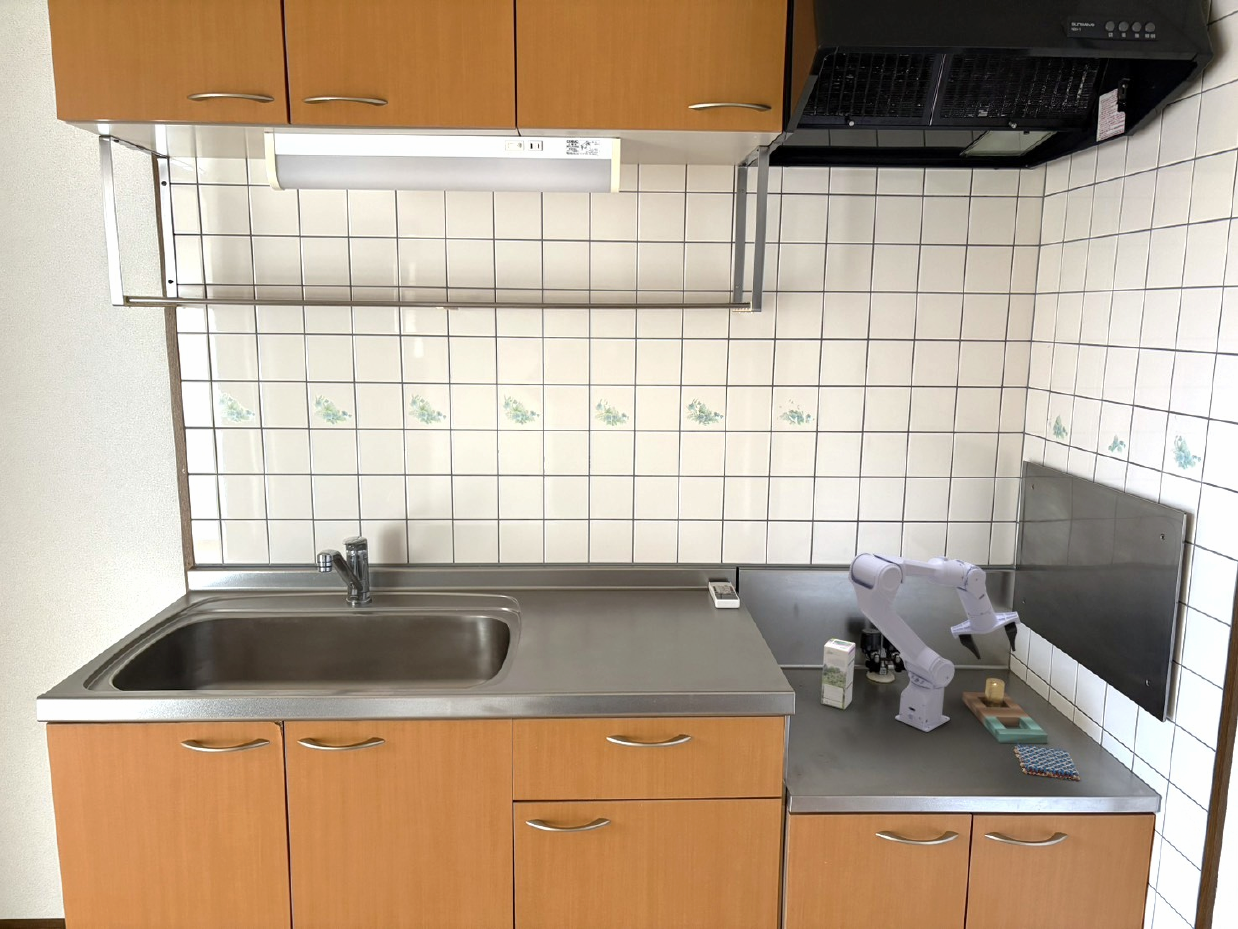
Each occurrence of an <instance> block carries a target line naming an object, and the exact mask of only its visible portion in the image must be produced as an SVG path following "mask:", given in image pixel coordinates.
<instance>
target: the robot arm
mask: <svg viewBox="0 0 1238 929" xmlns="http://www.w3.org/2000/svg"><path fill="white" fill-rule="evenodd" d="M906 577H912V578H913V577H915V578H925V580H926V581H927V582H928V583H929V584H931V585H936V586H944V587H949V588H950V587H951V588H955V589H956V593H957V595H958V597H959V599H960V602H961V604H962V607H963V610H964V612H965V614H966V617H967V620H965V621H963V622H961V623H959V624H957V625H955V626H951V627H950V630H951V631H950V632H951V635H952V636H953V638H954V640H956V639H959V641H960V644H961V645H962V646H963V647H966V648H967V649H968V650H969V651H970V652H972V653H973V654H974V656H975V657H976V659H977V660H981V659H982V658H981V655H980V654H981V653H980V651H979V649H978V646H977V645H976V642H975V640H974V637H973V635H985V634H989V633H992V632H994V631H996V630H998V629H1000V628H1002V627H1004V631H1005V634H1006V637H1007V639H1008V641H1009V645H1010V648H1011V651H1012V652H1016V651H1017V650H1016V637H1017V634H1018V627H1017V625H1020V624H1021V623H1022V622H1021V620H1020V617H1019V614H1018V612H1017V611H1011V612H995V609H994V608H993V606H992V603H991V600H990V598H989V595H988V592H987V587H986V586H987V585H986V580H987V572H986V571H984V570H983V569H982V568H981V566H978V565H974V564H972V563H969V562H966V561H964V560H963V559H958V558H955V559H953V560H951V559H949V557H946V556H944V555H939V557H933V558H930V559H928V561H927V562H926V561H921V560H917V559H912V558H907V557H901V556H897V555H893V554H892V555H890V554H886V553H885V554H884V553H876V552H875V553H872V555H871V553H867V552H860V553H858V554H857V555H856V556H854V557H853V558H852V560H851V563H850V566H849V572H848V580H849V582H850V583H851V584H852V586H853V588H854V592H855V595H856V600H857V603H858V607H859V610H860V611H861V612H862V614H863V615H864V616H865V617H866V618H867V619H868V621H870V623H872V625H874V626H875V627H876V629H878V631H879V632H880V633H881V634H882V635H883V636H884V637H885V638H886V639H887V640H888V641H889V642H890V643H891V644H892V645H893V647H894V648H896V650H898V652H899V657H900V659H902V661H903V665H904V668H905V670H906V671H907V673H908V677H909V683H908V685H907V687H905V688H903V690H902V692H901V693H900V700H899V714H898V715H896V716H895V720H897V721H899V722H902V723H905V724H906V725H909V726H912V727H913V728H916V729H918V730H920V731H923V732H925V733H927V732H928V733H929V732H930V731H932V730H934V729H935V728H939V726H942V725H944V723H946V722H948V721H950V720H951V719H950V717H949V716H946V715H943V707H944V696H945V687H948V685H949V684H950V683H951V682H952V680H953V678H954V676H955V666H954V663H953V662H952V661H951V660H950V659H946V658H944V657H942V656H941V655H940V654H938V653H937V652H935V651H934V650H933V649H932V648H930V647H929V646H927V645H926V644H925V642H923V640H922V639H921V638H920V637H919V636H918V635H917V634H916V633H915V631H914V630H912V629H911V627H910V626H909V625H908V624H907V623H906V622H905V621H904V620H903V619H902V618H901V616H899V614H898V613H897V612H896V611H895V610H894V609H893V608H892V605H893V602H894V601H895V598H896V595H897V593H898V591H899V588H900V586H901V585H902V584H905V581H906Z"/></svg>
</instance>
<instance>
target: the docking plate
mask: <svg viewBox="0 0 1238 929" xmlns="http://www.w3.org/2000/svg"><path fill="white" fill-rule="evenodd" d="M961 700H962V701H963V703H964V704H965V705H966V707H968V708H969V710H970V711H971V712H972V713H973V714H974V716H975V717H976V718H977V719H978V720H979V721H980V722H981V724H982V725H983V726H984V727H985V728H986V730H988V732H989V734H991V735H992V736H993V737H994V739H995V740H996V741H997V742H998V743H999V744H1000V743H1001V744H1003V743H1005V744H1017V743H1018V744H1044V743H1048V733H1047V732H1046V731H1045V730H1044V729H1042V728H1041V727H1040V726H1039V724H1038V723H1037V722H1035V720H1034V719H1032V718H1031V716H1029V714H1028V713H1027V712H1026V711H1024V710H1023V709H1022V708H1021V706H1020V705H1019V704H1018V703H1017V702H1016V701H1015V700H1014V699H1012V697H1010V695H1008V693H1007V692H1004V695H1003V705H1002V708H995V707H986V706H985V705H984V701H985V691H984V692H983V691H982V692H975V691H972V692H971V691H963V692H962V698H961ZM1005 726H1006V727H1008V726H1009V727H1010V726H1011V727H1012V726H1013V727H1020V728H1006V727H1005Z"/></svg>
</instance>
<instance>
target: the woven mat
mask: <svg viewBox="0 0 1238 929" xmlns="http://www.w3.org/2000/svg"><path fill="white" fill-rule="evenodd" d="M1014 748H1015V749H1013V751H1014V752H1015V757H1016V758H1017V759H1018V758H1019V759H1018V760H1019V762H1020V764H1019V765H1020V766H1021V768H1022V769H1023V770H1022V769H1021V770H1022V772H1023V773H1024V774H1027V773H1029V775H1034V774H1036V776H1041V777H1042V776H1043V777H1048V778H1056V777H1062V778H1061V779H1064V777H1067V778H1071V779H1075V780H1074V781H1076V780H1077V781H1080V780H1081V778H1080V777H1079V774H1080V773H1079V770H1077V769H1076V768H1077V766H1076V765H1075V763H1074V761H1073V759H1072V758H1071V756H1070V753H1069V752H1067V750H1063V751H1062V749H1061V748H1059V749H1053V748H1052V747H1051V748H1045V747H1044V746H1042V748H1041V747H1036V745H1033V746H1031V745H1028V744H1025V745H1023V744H1021V745H1020V743H1016V746H1014ZM1058 750H1059V751H1058ZM1042 772H1043V773H1042ZM1056 774H1057V775H1056ZM1068 775H1069V776H1068ZM1071 779H1070V780H1071ZM1078 779H1079V780H1078Z"/></svg>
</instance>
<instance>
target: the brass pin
mask: <svg viewBox="0 0 1238 929" xmlns="http://www.w3.org/2000/svg"><path fill="white" fill-rule="evenodd" d="M985 683H986V684H985V691H984V692H985V701H984V705H985V706H986V707H995V708H1002V705H1003V695H1004V693H1005V681H1004V680H1002V679H999V678H994V677H989V678H987V679H986V682H985Z"/></svg>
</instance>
